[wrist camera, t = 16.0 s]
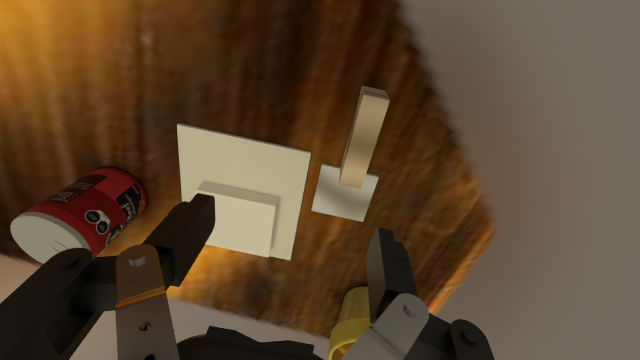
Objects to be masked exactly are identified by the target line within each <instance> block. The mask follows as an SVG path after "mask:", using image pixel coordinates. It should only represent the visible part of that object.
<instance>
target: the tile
mask: <svg viewBox="0 0 640 360" xmlns="http://www.w3.org/2000/svg"><path fill="white" fill-rule="evenodd" d="M197 193H201V194H207V195H212V196H214V198H215V219H216V220H215V226H214V229H213V232H212V234H211V235H210V237H209V238H208V240H207V242H206V243H205V244H206V245H211V246H216V247H221V248H226V249H230V250H235V251H240V252H245V253H250V254H254V255H259V256H264V257H269V254H270V251H271V248H272V243H273V236H274V229H275V222H276V215H277V208H278V200H279V197H274V196H270V195H265V194H260V193H256V192H251V191H246V190H241V189H237V188H232V187H227V186H223V185H218V184H213V183H208V182H204V181H203V182H202V183H201V185H200V186H199V187H198V188H197V189H196V194H197Z"/></svg>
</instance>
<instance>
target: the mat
mask: <svg viewBox="0 0 640 360" xmlns="http://www.w3.org/2000/svg"><path fill="white" fill-rule="evenodd" d="M177 132H178V146H179V161H180V175H181V189H182V202H184V201H187V202H190V201H191V200H192V199H193V197H194V196H195V195H196V189H197V188H198V187H199V186H200V185H201V183H202V182H203V181H204V182H208V183H213V184H218V185H223V186H227V187H232V188H237V189H241V190H246V191H251V192H256V193H260V194H265V195H270V196H274V197H279V200H278V208H277V215H276V222H275V229H274V236H273V243H272V248H271V251H270V254H269V256H272V257H277V258H282V259H287V260H290V259H291V255H292V249H293V244H294V239H295V234H296V229H297V224H298V218H299V213H300V208H301V203H302V198H303V193H304V188H305V182H306V177H307V172H308V167H309V162H310V157H311V151H306V150H302V149H297V148H292V147H288V146H283V145H278V144H274V143H269V142H264V141H260V140H255V139H250V138H246V137H241V136H237V135H232V134H227V133H223V132H218V131H213V130H209V129H204V128H199V127H195V126H190V125H185V124H181V123H179V124H177Z"/></svg>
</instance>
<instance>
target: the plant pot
mask: <svg viewBox="0 0 640 360" xmlns="http://www.w3.org/2000/svg"><path fill="white" fill-rule="evenodd" d="M369 326H373V324H371V323H370V311H369V295H368V287H357V288H354V289H351V290H350V291H348V292H347V294H346V295H345V298H344V301H343V305H342V308H341V312H340V316H339V319H338V323H337V325H336V326H335V327H334V328H333V330H332V332H331V336H330V343H329V354H328V358H329V360H341V358H342V357H343V356H344V355H345V354H346V352H347V351H348V350H349V349H350V348H351V346H352V345H353V344H354V343H355V342H356V341H357V339H358V338H359V337H360V336H361V335H362V333H363V332H364V331H365V330H366V329H367V328H368V327H369Z"/></svg>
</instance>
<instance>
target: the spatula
mask: <svg viewBox="0 0 640 360" xmlns="http://www.w3.org/2000/svg"><path fill="white" fill-rule="evenodd" d="M389 102H390V100H389V98H388V95H387V93H386V91H384V90H380V89H375V88H371V87H367V86H362V88H361V91H360V95H359V99H358V103H357V106H356V110H355V114H354V118H353V121H352V125H351V129H350V133H349V136H348V140H347V144H346V148H345V151H344V155H343V159H342V163H341V166H335V165H331V164H326V163H322V167H321V171H320V175H319V180H318V184H317V189H316V193H315V197H314V202H313V206H312V211H316V212H320V213H325V214H330V215H334V216H339V217H343V218H348V219H353V220H357V221H362V222H363V220H364V218H365V215H366V212H367V209H368V206H369V204H370V201H371V198H372V195H373V192H374V189H375V187H376V184H377V181H378V178H379V176H378V175H376V174H371V173H367V169H368V166H369V163H370V160H371V157H372V154H373V151H374V148H375V145H376V142H377V139H378V135H379V132H380V129H381V126H382V123H383V120H384V117H385V114H386V111H387V108H388V105H389Z"/></svg>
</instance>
